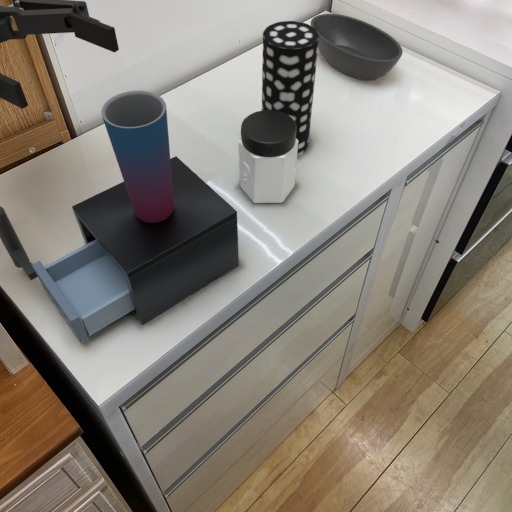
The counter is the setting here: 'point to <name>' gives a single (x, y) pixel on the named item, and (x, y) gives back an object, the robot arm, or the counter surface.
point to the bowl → (356, 46)
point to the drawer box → (164, 241)
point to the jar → (268, 156)
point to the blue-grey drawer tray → (76, 282)
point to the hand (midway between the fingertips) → (71, 66)
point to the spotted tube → (290, 73)
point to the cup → (142, 151)
